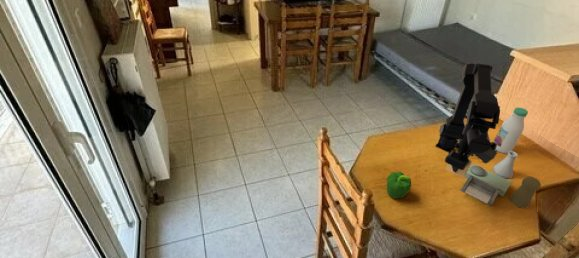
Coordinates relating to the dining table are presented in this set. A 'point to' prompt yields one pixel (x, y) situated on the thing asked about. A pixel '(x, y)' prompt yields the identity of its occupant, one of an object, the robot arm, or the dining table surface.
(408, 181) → the bell pepper
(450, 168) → the tan and grey block
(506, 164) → the flask
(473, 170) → the sage green knobbed slab
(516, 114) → the milk bottle
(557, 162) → the dining table surface
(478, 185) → the bracket
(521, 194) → the olive pepper mill
